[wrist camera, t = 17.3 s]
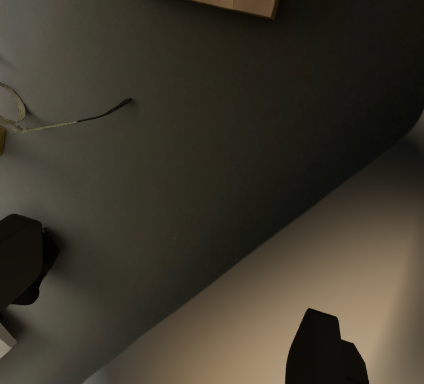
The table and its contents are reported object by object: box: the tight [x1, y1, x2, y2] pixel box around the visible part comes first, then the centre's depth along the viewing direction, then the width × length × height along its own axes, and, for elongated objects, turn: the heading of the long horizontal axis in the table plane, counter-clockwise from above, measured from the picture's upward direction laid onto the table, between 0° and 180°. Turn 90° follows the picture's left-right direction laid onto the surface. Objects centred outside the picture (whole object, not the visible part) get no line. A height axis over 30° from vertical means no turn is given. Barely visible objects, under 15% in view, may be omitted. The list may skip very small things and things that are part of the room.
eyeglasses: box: [0, 82, 132, 134], centre depth 38 cm, size 17×15×5 cm
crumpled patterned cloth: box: [0, 228, 59, 321], centre depth 47 cm, size 10×15×14 cm
